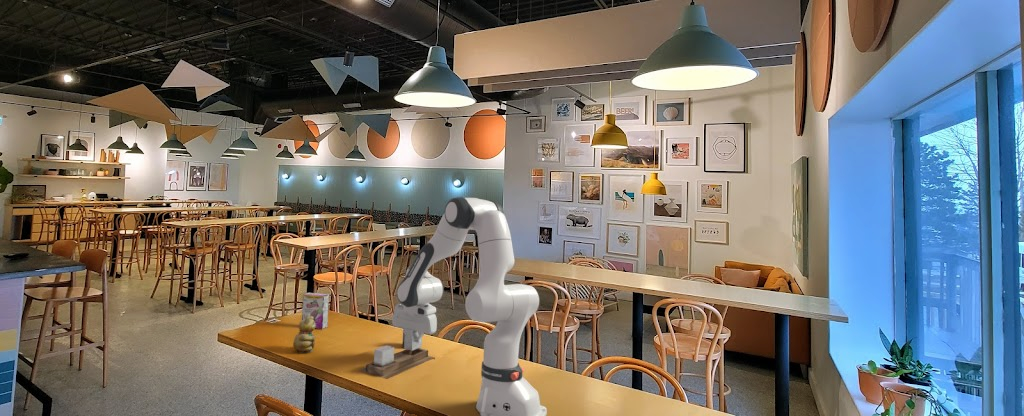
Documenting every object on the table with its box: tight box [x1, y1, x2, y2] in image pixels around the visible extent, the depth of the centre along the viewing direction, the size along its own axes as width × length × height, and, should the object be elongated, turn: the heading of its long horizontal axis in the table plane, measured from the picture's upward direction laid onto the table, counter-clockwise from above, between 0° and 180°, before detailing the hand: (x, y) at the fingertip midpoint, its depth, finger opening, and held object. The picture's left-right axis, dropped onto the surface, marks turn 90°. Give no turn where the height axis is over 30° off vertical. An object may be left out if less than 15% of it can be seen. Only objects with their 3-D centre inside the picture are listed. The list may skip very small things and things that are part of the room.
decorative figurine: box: [292, 314, 316, 353], centre depth 189 cm, size 10×8×15 cm
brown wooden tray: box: [358, 347, 436, 380], centre depth 175 cm, size 14×27×4 cm, turn 152°
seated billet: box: [373, 345, 395, 368], centre depth 168 cm, size 4×6×8 cm, turn 152°
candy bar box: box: [301, 292, 330, 330], centre depth 223 cm, size 11×5×16 cm, turn 82°
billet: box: [403, 328, 423, 351], centre depth 182 cm, size 4×6×8 cm, turn 152°
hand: (413, 341), depth 182 cm, fingers closed on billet, 4 cm apart
